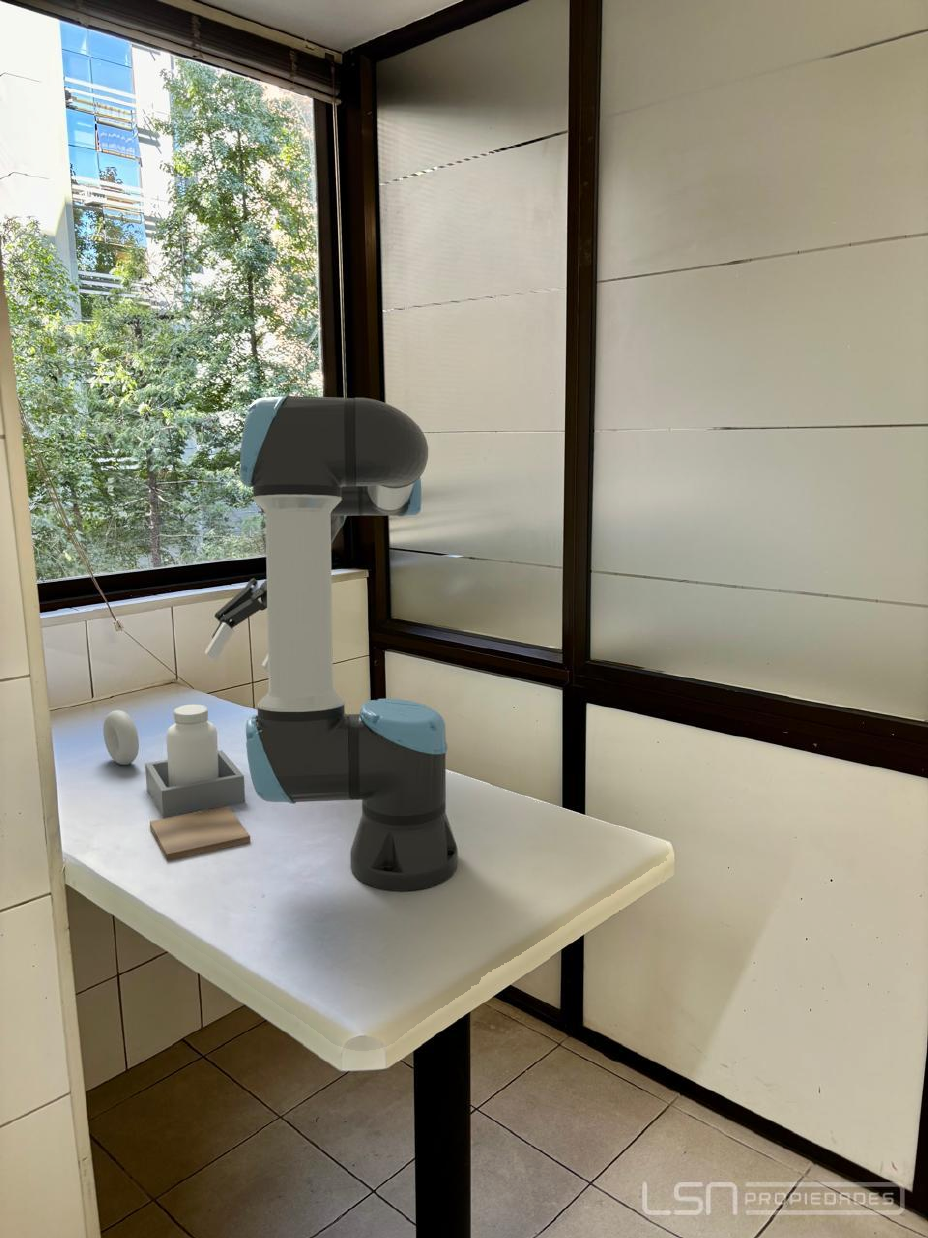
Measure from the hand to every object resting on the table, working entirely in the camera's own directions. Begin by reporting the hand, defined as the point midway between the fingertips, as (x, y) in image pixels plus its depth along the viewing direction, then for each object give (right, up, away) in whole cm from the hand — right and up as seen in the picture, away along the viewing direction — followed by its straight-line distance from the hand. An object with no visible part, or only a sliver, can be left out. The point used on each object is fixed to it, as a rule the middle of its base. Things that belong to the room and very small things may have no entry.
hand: (237, 663), depth 155 cm
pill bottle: (-6, -22, -5) cm, 23 cm away
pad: (-1, -25, -19) cm, 31 cm away
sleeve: (-6, -22, -5) cm, 23 cm away
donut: (-23, -19, +8) cm, 31 cm away
